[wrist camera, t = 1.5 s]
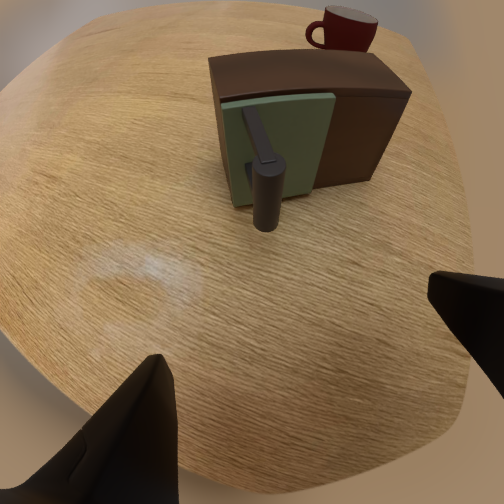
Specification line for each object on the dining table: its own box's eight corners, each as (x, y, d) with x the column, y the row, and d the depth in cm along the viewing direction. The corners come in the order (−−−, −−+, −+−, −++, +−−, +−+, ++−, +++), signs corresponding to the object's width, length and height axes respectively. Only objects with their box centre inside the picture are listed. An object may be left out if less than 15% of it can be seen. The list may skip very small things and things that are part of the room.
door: (331, 245, 22) (378, 159, 12) (247, 264, 22) (240, 179, 12) (309, 187, 24) (332, 92, 15) (232, 202, 24) (220, 103, 14)
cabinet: (369, 180, 26) (412, 91, 15) (232, 204, 25) (219, 97, 14) (346, 139, 28) (373, 53, 17) (221, 156, 27) (207, 57, 16)
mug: (310, 72, 34) (317, 15, 25) (298, 50, 37) (302, 1, 28) (372, 78, 34) (387, 27, 25) (355, 55, 37) (365, 10, 28)
